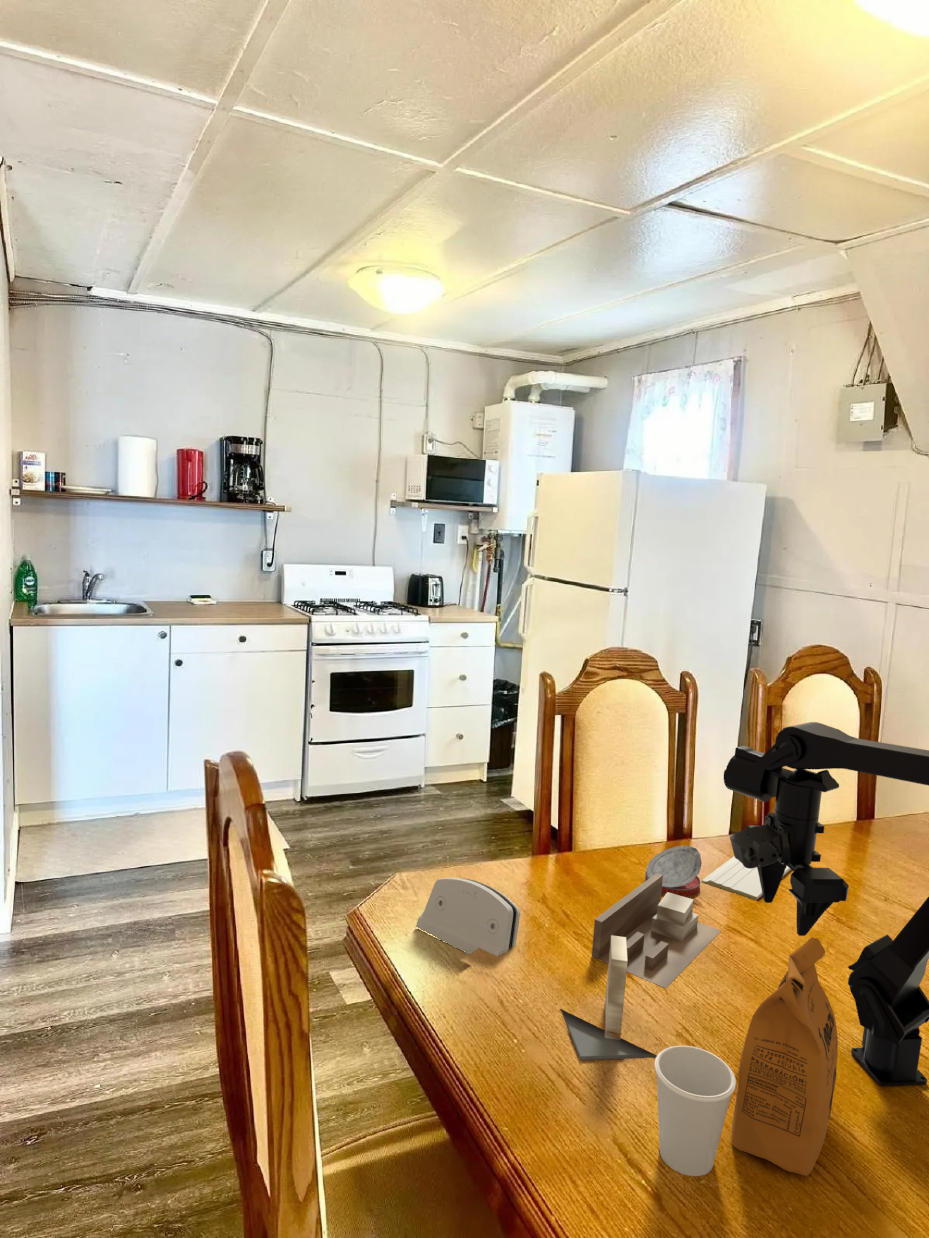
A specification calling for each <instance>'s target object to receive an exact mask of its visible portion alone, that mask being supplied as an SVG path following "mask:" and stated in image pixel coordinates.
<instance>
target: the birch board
mask: <svg viewBox="0 0 929 1238" xmlns="http://www.w3.org/2000/svg"><path fill="white" fill-rule="evenodd" d="M627 962H628V960H627V945H626V937H620V936H613V935H611V941H610V953H609V964H607V965H608V966H607V967H608V968H607V977H606V987H605V1002H604V1017H605V1018H604V1021H605V1023H604V1030H605V1038H610V1039H617V1040H620V1039H621V1038H622V1037H619V1036H617V1035H615V1034H613V1033H617V1034H622V1027H623V1016H624V1004H625V995H626V993H625V992H626V991H625V990H626V981H627V980H626V979H627V974H628V972H627Z"/></svg>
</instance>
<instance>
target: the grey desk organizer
mask: <svg viewBox="0 0 929 1238" xmlns="http://www.w3.org/2000/svg"><path fill="white" fill-rule="evenodd" d="M662 881H663V875H661V874H659V873H656V874H654V875H653V876H652V877H650V878H649V879H648V880H646V881H645V880H644V882H642V883H641V884H640V885H639V886H637V887H636V888H634V889H633V890H632V891H630V892H629V893H628V894H627V895H625V896H624V897H622V898H621V899H620V900H618V901H617V902H616V903H615V904H613V905H611V906H610V907H609V908H608V909H606V910H605V911H604V912H603V913H601V914H600V915H599V916H596V918H594V921H593V922H594V924H593V925H594V926H593V934H592V935H593V936H592V937H593V938H592V947H591V958H594V959H595V960H598V961H600V962H603V963H605V964H607V965H608V964H609V953H610V941H611V935H613V936H620V937H626V945H627V960H628V962H627V974H628V973H629V974H631V975H633V976H635V977H639V978H641V979H642V980H645V981H648V982H650V983H652V984H654V985H657V986H659V987H660V988H663V989H667V988H668V987H669V986H670V985H671V984H672V983H673V982H674V981H675V980H676V979H677V977H679V975H681V973H683V972H684V971H685V969H686V968H687V967H688V966H689V965H690V964H691V963H692V961H694V960H695V959H696V958H697V957H698V956H699V955H700V953H701V952H702V951H704V949H705V948H707V947H708V945H710V943H711V942H712V941H714V939H715V938H717V936H718V935H719V934H720V933H721V932H722V930H721V929H719V928H715V927H712V926H711V925H708V924H704V923H702V922H699V921H698V924H697V928H696V929H695V930H694V931H693V932H692V933H691V934H690V935H689V936H688V937H687V938H686V939H685V940H683V941H682V942H680V941H677V940H674V939H672V938H669V937H667V936H664V935H662V934H659V933H656V932H654V931H651V928H652V918H653V917H654V916H655V915H656V914H657V907H658V904H659V903H660V901H661V900H662V898H661V897H662V893H661V892H662Z"/></svg>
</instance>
